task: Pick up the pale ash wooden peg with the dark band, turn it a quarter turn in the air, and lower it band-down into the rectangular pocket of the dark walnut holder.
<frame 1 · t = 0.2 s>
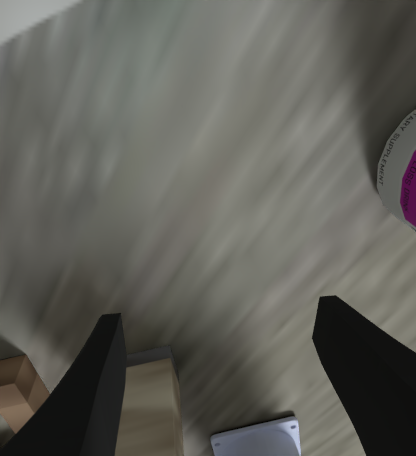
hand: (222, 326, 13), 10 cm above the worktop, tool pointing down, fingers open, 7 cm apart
holder: (2, 417, 28), on the worktop
peg: (135, 367, 27), on the worktop
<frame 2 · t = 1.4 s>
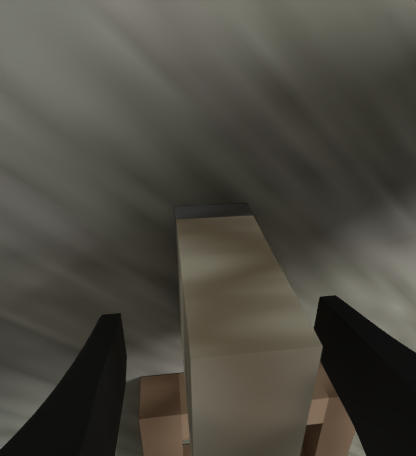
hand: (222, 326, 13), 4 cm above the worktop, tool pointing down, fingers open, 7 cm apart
holder: (242, 415, 22), on the worktop
peg: (210, 264, 16), on the worktop
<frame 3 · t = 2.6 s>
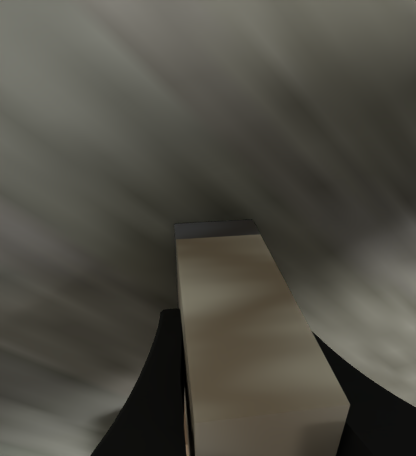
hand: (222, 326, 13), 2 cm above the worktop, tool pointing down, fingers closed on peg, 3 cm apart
peg: (213, 285, 15), on the worktop, touching gripper
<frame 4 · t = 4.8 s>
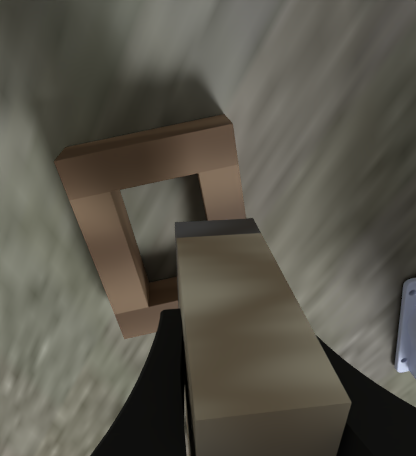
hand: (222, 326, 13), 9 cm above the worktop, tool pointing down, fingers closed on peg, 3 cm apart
holder: (169, 225, 22), on the worktop
peg: (213, 284, 15), point 7 cm above the worktop, touching gripper
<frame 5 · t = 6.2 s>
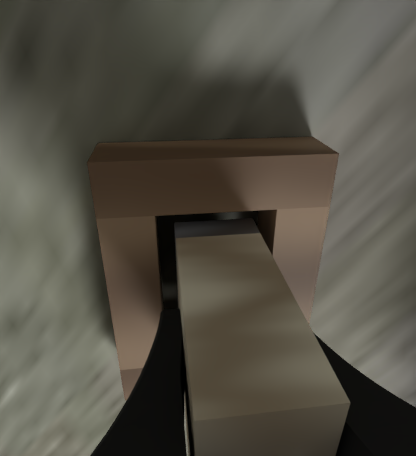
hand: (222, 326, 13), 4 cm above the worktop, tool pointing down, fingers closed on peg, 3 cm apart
holder: (208, 262, 17), on the worktop
peg: (213, 284, 15), point 2 cm above the worktop, touching gripper
when the fingers open (3 cm above the worktop, at t = 7.2 s): peg drops 1 cm, resting in holder.
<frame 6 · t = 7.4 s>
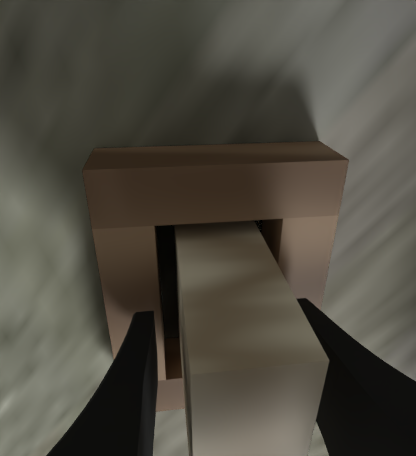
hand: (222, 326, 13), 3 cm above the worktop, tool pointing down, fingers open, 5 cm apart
holder: (210, 272, 16), on the worktop
peg: (209, 270, 16), resting in holder
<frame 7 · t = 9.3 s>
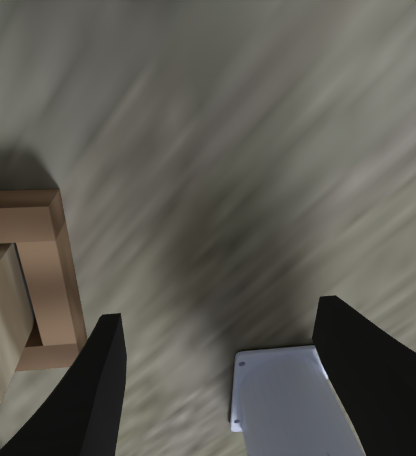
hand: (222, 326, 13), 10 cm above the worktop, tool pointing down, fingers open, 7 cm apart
holder: (5, 276, 23), on the worktop
peg: (5, 275, 23), resting in holder
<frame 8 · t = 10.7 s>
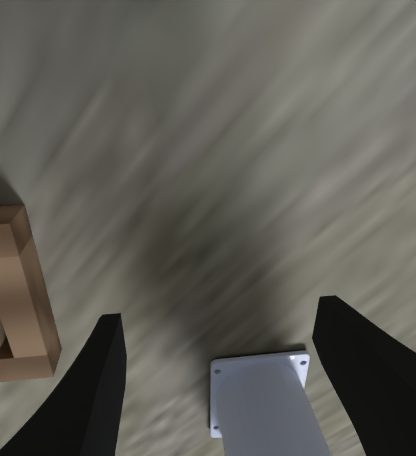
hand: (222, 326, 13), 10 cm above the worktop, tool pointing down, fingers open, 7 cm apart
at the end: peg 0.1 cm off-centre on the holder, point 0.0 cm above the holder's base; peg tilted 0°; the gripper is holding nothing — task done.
